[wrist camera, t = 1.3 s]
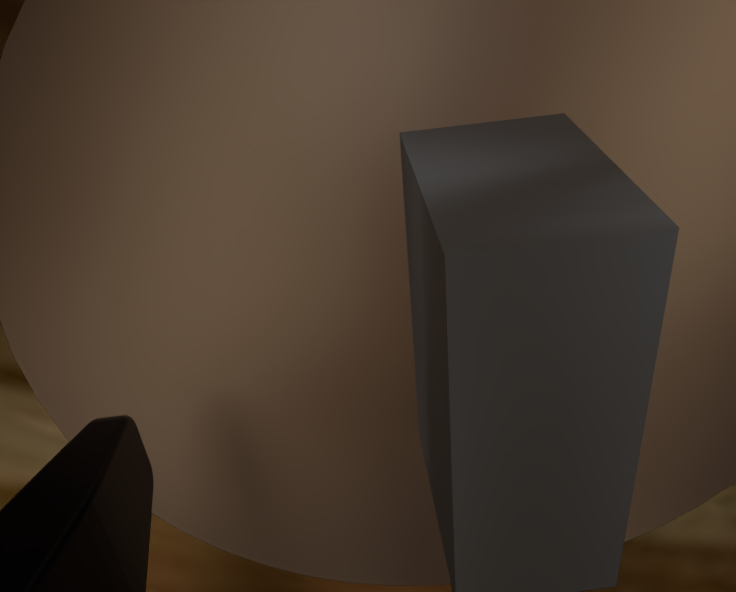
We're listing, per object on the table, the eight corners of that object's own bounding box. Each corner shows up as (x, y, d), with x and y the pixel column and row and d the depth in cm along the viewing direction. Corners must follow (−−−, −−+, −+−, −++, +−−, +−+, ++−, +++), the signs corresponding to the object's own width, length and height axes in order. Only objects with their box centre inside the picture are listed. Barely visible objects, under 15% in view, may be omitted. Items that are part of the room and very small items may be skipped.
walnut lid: (1083, -358, 7) (1768, -533, 4) (784, 496, 14) (934, 694, 11) (-195, -230, 7) (-661, -299, 4) (148, 580, 14) (102, 812, 11)
